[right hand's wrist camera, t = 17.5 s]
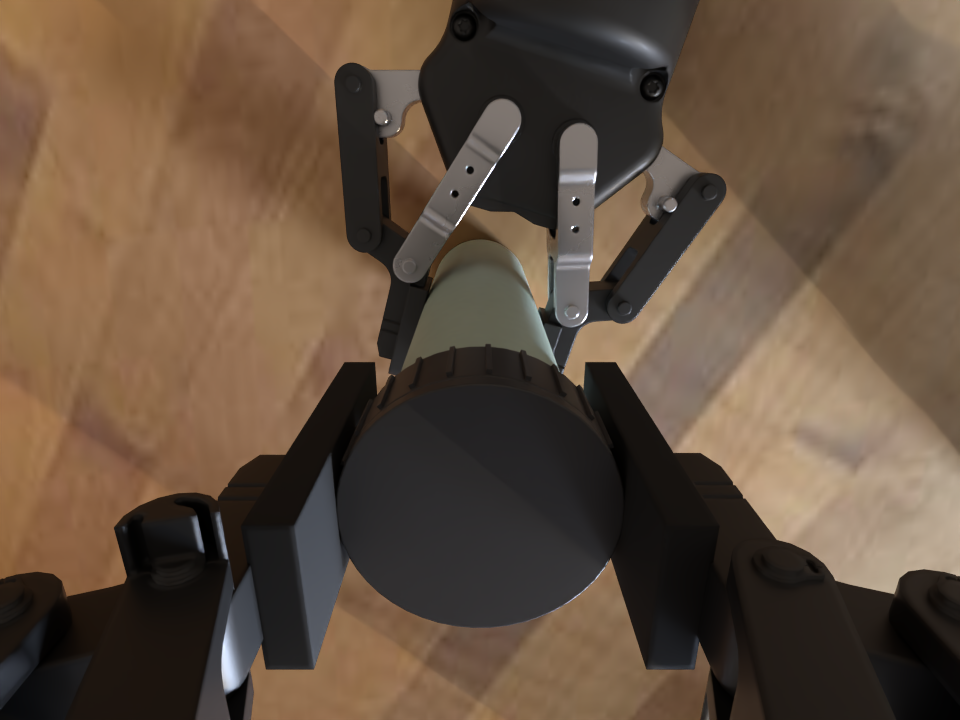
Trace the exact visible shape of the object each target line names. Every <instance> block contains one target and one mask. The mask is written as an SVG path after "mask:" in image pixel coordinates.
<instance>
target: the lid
mask: <svg viewBox="0 0 960 720" xmlns="http://www.w3.org/2000/svg"><path fill="white" fill-rule="evenodd" d="M612 448H614V446H613V443H612V441H611V439H610V437H609V434H608V432H607V430H606V428H605V426H604V423H603V421H602V419H601V417H600V415H599V412H598V411H595V412H594V411H593V409H592V408H591V406H590V404H589V402H588V400H587V398H586V395H585V393H584V391H583V388H582V387H581V386H580V385H578V386H577V387H576V386H575V385H574V384H573V383H572V382H571V381H570V380H569V379H568V378H567V377H566V376H565V375H563V374H562V373H561V372H559V370H558V367H557V366H556V365H555V364H552V366H550V365H549V364H547V363H545V362H543V361H541V360H539V359H537V358H535V357H532V356H529V355H527V353H526V351H525V350H521V351H520V352H517V351H513V350H509V349H505V348H497V347H491V344H485V347H464V348H455V346H451V347H450V348H449V350H447V351H443V352H439V353H436V354H433V355H431V356H429V357H426V358H424V359H422V357H418V358H417V359H416V361H415V363H414V364H412V365H410V366H409V367H407V368H405V369H404V370H403V371H401V372H400V373H399V374H397V375H396V376H395V377H394V376H393V375H391V376H390V377H388V380H387V382H386V385H385V386H384V387H383V388H382V389H381V391H380V392H379V393H378V395H377V396H376V397H375V399H374V400H372V399H369V401H368V403H367V405H366V407H365V409H364V412H363V414H362V416H361V418H360V421H359V423H358V425H357V427H356V429H355V431H354V433H353V436H352V438H351V440H350V442H349V445H348V447H347V449H346V451H345V454H344V456H343V458H342V460H341V464H340V465H342V466H343V468H342V471H341V474H340V477H339V482H338V487H337V492H336V511H337V520H338V528H339V532H340V536H341V540H342V542H343V545H344V547H345V549H346V551H347V554H348V556H349V557H350V559H351V561H352V562H353V564H354V566H355V567H356V569H357V570H358V571H359V573H360V574H361V575H362V576H363V577H364V579H365V580H366V581H367V582H368V583H369V584H370V585H371V586H372V587H373V588H374V589H375V590H376V591H377V592H379V593H380V594H381V595H383V596H384V597H385V598H387V599H388V600H389V601H391V602H392V603H394V604H396V605H397V606H399V607H401V608H403V609H404V610H406V611H408V612H410V613H413V614H415V615H417V616H420V617H422V618H425V619H428V620H432V621H435V622H438V623H443V624H448V625H453V626H460V627H470V628H491V627H500V626H508V625H513V624H518V623H522V622H526V621H529V620H532V619H535V618H538V617H541V616H543V615H546V614H548V613H550V612H552V611H555V610H556V609H558V608H560V607H562V606H563V605H565V604H567V603H568V602H570V601H571V600H573V599H574V598H575V597H577V596H578V595H579V594H581V593H582V592H583V591H584V590H585V589H586V588H587V587H588V586H589V585H590V584H592V583H593V582H594V581H595V579H596V578H597V577H598V576H599V574H600V573H601V572H602V571H603V569H604V568H605V567H606V565H607V563H608V562H609V560H610V558H611V557H612V555H613V553H614V551H615V548H616V546H617V544H618V541H619V539H620V535H621V531H622V524H623V515H624V504H625V497H624V488H623V483H622V479H621V475H620V472H619V469H618V467H617V464H616V462H615V459H614V457H613V454H612V452H611V450H610V449H612Z"/></svg>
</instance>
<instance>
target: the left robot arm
mask: <svg viewBox="0 0 960 720" xmlns="http://www.w3.org/2000/svg"><path fill="white" fill-rule="evenodd" d="M698 3H699V0H453V2H452V6H451V11H450V15H449V19H448V23H447V27H446V30H445V32H444V35H443V37H442V39H441V41H440V42H439V44H438V45H437V47H436V48H435V49H434V51H433V52H432V53H431V54H430V55H429V56H428V57H427V59H426V60H425V61H424V63H423V65H422V67H421V70H369V69H367V68H366V67H364V66H361V65H360V64H357V63H347V64H344V65H343V66H341V67H340V68H339V70H338V71H337V73H336V75H335V80H334V84H335V96H336V109H337V121H338V133H339V146H340V158H341V170H342V183H343V195H344V207H345V220H346V232H347V239H348V242H349V244H350V245H351V246H352V247H353V248H354V249H355V250H357V251H359V252H363V253H369V254H370V255H372V256H373V257H374V258H376V259H377V260H379V261H380V262H382V263H383V264H384V265H385V266H386V267H387V269H388V271H389V273H390V276H391V286H390V290H389V295H388V299H387V303H386V307H385V312H384V316H383V320H382V325H381V329H380V333H379V337H378V342H377V345H378V351H379V356H380V357H384V358H388V359H392V360H391V364H390V368H389V374H392V375H397V374H399V373H400V372H401V370H402V367H403V364H404V361H405V359H406V356H407V353H408V350H409V347H410V345H411V342H412V339H413V336H414V333H415V331H416V328H417V325H418V322H419V319H420V317H421V314H422V311H423V308H424V306H425V303H426V300H427V297H428V294H429V291H430V287H431V283H432V279H433V278H431V277H428V275H429V271H430V267H431V264H432V262H433V261H434V259H435V258H436V256H437V255H438V253H439V252H440V250H441V248H442V247H443V245H444V244H445V242H446V241H447V239H448V238H449V236H450V235H451V233H452V232H453V231H454V229H455V228H456V226H457V224H458V223H459V221H460V220H461V218H462V217H463V215H464V214H465V212H466V210H467V209H468V207H469V206H470V205H471V206H474V207H477V208H481V209H484V210H488V211H498V212H515V213H517V214H519V215H520V216H522V217H524V218H525V219H527V220H528V221H530V222H532V223H533V224H536V225H539V226H542V227H546V228H547V251H548V302H547V305H546V308H545V309H544V308H540V307H539V309H538V313H539V316H540V318H541V321H542V324H543V327H544V330H545V332H546V335H547V338H548V341H549V344H550V346H551V349H552V352H553V355H554V357H555V360H556V363H557V366H558V369H559V371H560V372H561V373H562V374H563V371H564V368H565V366H566V363H567V360H568V358H569V355H570V352H571V349H572V346H573V344H574V341H575V338H576V335H577V333H578V332H579V330H580V329H581V328H582V327H583V326H585V325H586V324H588V323H591V322H596V321H609V320H613V321H615V322H617V323H621V324H624V323H629V322H631V321H633V320H634V319H635V318H636V317H637V316H638V314H639V313H640V312H641V310H642V309H643V308H644V306H645V305H646V304H647V302H648V301H649V300H650V298H651V297H652V296H653V294H654V293H655V292H656V290H657V289H658V287H659V286H660V285H661V283H662V282H663V281H664V279H665V278H666V277H667V275H668V274H669V273H670V271H671V270H672V269H673V267H674V266H675V265H676V263H677V262H678V260H679V259H680V258H681V256H682V255H683V254H684V252H685V251H686V250H687V248H688V247H689V246H690V244H691V243H692V242H693V240H694V239H695V238H696V236H697V235H698V233H699V232H700V231H701V229H702V228H703V227H704V225H705V224H706V223H707V221H708V220H709V219H710V217H711V216H712V215H713V213H714V212H715V211H716V209H717V208H718V207H719V205H720V204H721V202H722V201H723V199H724V197H725V195H726V184H725V182H724V180H723V179H722V178H721V177H720V176H719V175H717V174H713V173H703V172H698V171H696V170H695V169H694V168H692V167H691V166H689V165H688V164H687V163H685V162H684V161H682V160H681V159H680V158H678V157H677V156H675V155H674V154H673V153H671V152H670V151H668V150H667V149H665V148H664V147H663V146H662V144H663V127H662V105H663V100H664V96H665V93H666V90H667V88H668V85H669V83H670V80H671V77H672V75H673V72H674V69H675V66H676V64H677V61H678V58H679V55H680V53H681V50H682V47H683V44H684V41H685V39H686V36H687V33H688V30H689V28H690V25H691V22H692V19H693V17H694V14H695V11H696V8H697V6H698ZM420 102H422V105H423V107H424V110H425V113H426V116H427V118H428V121H429V124H430V126H431V129H432V132H433V135H434V137H435V140H436V143H437V146H438V148H439V151H440V154H441V157H442V159H443V162H444V165H445V167H446V170H447V173H446V174H445V176H444V178H443V179H442V181H441V182H440V184H439V186H438V187H437V189H436V191H435V192H434V194H433V195H432V197H431V199H430V200H429V202H428V204H427V205H426V207H425V208H424V210H423V212H422V214H421V216H420V217H419V219H418V221H417V222H416V224H415V225H414V227H413V229H412V230H411V232H410V234H409V233H408V232H407V231H405V230H404V229H402V228H401V227H400V226H398V225H397V224H395V223H394V222H393V221H391V209H390V190H389V172H388V153H387V138H392V137H395V136H397V135H399V134H400V133H401V132H402V130H403V128H404V125H405V118H406V114H407V112H408V110H409V109H410V108H411V107H412V106H413V105H414V104H416V103H420ZM642 172H643V173H644V175H645V178H646V188H645V191H644V193H643V195H642V198H641V208H642V210H643V212H644V213H645V214H646V216H645V218H644V219H643V221H642V222H641V224H640V225H639V226H638V228H637V229H636V231H635V232H634V234H633V235H632V236H631V238H630V239H629V241H628V242H627V243H626V245H625V246H624V248H623V249H622V251H621V252H620V253H619V255H618V256H617V258H616V259H615V261H614V262H613V263H612V265H611V266H610V268H609V269H608V271H607V272H606V273H605V275H604V276H603V278H602V279H601V281H595V282H589V269H590V264H591V262H592V256H593V229H594V209H596V208H597V207H598V206H599V205H601V204H602V203H603V202H605V201H606V200H607V199H609V198H610V197H611V196H612V195H614V194H615V193H616V192H618V191H619V190H620V189H622V188H623V187H624V186H625V185H627V184H628V183H629V182H631V181H632V180H633V179H635V178H636V177H637V176H639V175H640V174H641V173H642Z"/></svg>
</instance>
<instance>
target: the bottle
mask: <svg viewBox="0 0 960 720" xmlns="http://www.w3.org/2000/svg"><path fill="white" fill-rule="evenodd" d="M485 344H491V347H497V348H505V349H509V350H513V351H517V352H520V351H521V350H525V351H526V353H527V355H529V356H532V357H535V358H537V359H539V360H541V361H543V362H545V363H547V364H549V365H550V366H552V364H555V365H556V366H557V363H556V360H555V357H554V355H553V352H552V349H551V346H550V344H549V341H548V338H547V335H546V332H545V330H544V327H543V324H542V321H541V318H540V316H539V313H538V310H537V307H536V304H535V302H534V299H533V296H532V293H531V291H530V288H529V285H528V282H527V279H526V277H525V274H524V271H523V268H522V266H521V264H520V262H519V260H518V259H517V258H516V256H515V255H514V254H513V253H512V252H511V251H510V250H509V249H507V248H506V247H505V246H503V245H501V244H499V243H496V242H494V241H490V240H470V241H467V242H464V243H461V244H459V245H457V246H456V247H454V248H453V249H452V250H450V251H449V252H448V253H447V254H446V255H445V257H444V258H443V259H442V261H441V263H440V264H439V266H438V269H437V272H436V275H435V277H434V280H433V283H432V286H431V289H430V291H429V294H428V297H427V300H426V303H425V306H424V308H423V311H422V314H421V317H420V319H419V322H418V325H417V328H416V331H415V333H414V336H413V339H412V342H411V345H410V347H409V350H408V353H407V356H406V359H405V361H404V364H403V367H402V370H401V371H403V370H404V369H405V368H407V367H409V366H410V365H412V364H414V363H415V361H416V359H417V358H418V357H422V359H424V358H426V357H429V356H431V355H433V354H436V353H439V352H443V351H447V350H449V348H450V347H451V346H455V348H464V347H485ZM557 367H558V366H557ZM558 370H559V369H558ZM559 372H560V371H559Z"/></svg>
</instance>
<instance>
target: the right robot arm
mask: <svg viewBox="0 0 960 720" xmlns="http://www.w3.org/2000/svg"><path fill="white" fill-rule="evenodd" d="M584 393H585V395H586V398H587V400H588V402H589V404H590V406H591V408H592V409H593V411H594V412H595V411H598V412H599V415H600V417H601V419H602V421H603V423H604V426H605V428H606V430H607V432H608V434H609V437H610V439H611V441H612V443H613V446H614V448H612V449H610V450H611V452H612V454H613V457H614V459H615V462H616V464H617V467H618V469H619V472H620V475H621V479H622V483H623V488H624V497H625V504H624V515H623V524H622V531H621V535H620V539H619V541H618V544H617V546H616V548H615V551H614V553H613V555H612V557H611V560H612V563H613V566H614V569H615V572H616V576H617V579H618V582H619V585H620V588H621V591H622V594H623V597H624V601H625V604H626V607H627V610H628V613H629V616H630V619H631V623H632V626H633V629H634V632H635V635H636V638H637V641H638V644H639V648H640V651H641V654H642V657H643V660H644V663H645V666H646V669H695V663H696V657H697V652H698V646H699V642H700V644H701V646H702V648H703V651H704V653H705V655H706V657H707V660H708V662H709V664H710V672H709V677H708V682H707V687H706V693H705V698H704V703H703V708H702V714H701V720H960V576H956V575H953V574H949V573H946V572H940V571H932V570H925V569H923V570H916V571H909V572H907V573H906V574H905V575H903V576H902V577H901V578H900V579H899V582H898V585H897V588H896V591H895V594H890V593H886V592H881V591H876V590H872V589H867V588H862V587H858V586H853V585H849V584H845V583H841V582H838V581H835V580H834V577H833V575H832V574H831V573H830V571H829V570H828V569H827V567H826V566H825V564H824V563H822V562H821V561H820V560H819V559H817V558H816V557H815V556H813V555H812V554H811V553H809V552H807V551H805V550H803V549H801V548H799V547H797V546H795V545H793V544H790V543H786V542H783V541H779V540H776V538H775V537H774V536H773V534H772V533H771V532H770V530H769V529H768V528H767V527H766V525H765V524H764V523H763V521H762V520H761V519H760V517H759V516H758V515H757V513H756V512H755V511H754V509H753V508H752V507H751V505H750V504H749V503H748V502H747V500H746V499H743V495H742V494H741V492H740V491H739V490H738V488H737V487H736V486H735V485H733V482H732V480H731V479H730V478H729V476H728V475H727V474H726V473H725V471H724V470H723V469H722V467H721V466H719V465H718V464H716V463H715V462H713V461H712V460H710V459H709V458H707V457H706V456H704V455H703V454H701V453H673V451H672V450H671V448H670V447H669V445H668V444H667V442H666V440H665V439H664V437H663V436H662V434H661V433H660V431H659V429H658V428H657V426H656V425H655V423H654V422H653V420H652V418H651V417H650V415H649V414H648V412H647V411H646V409H645V407H644V406H643V404H642V403H641V401H640V400H639V398H638V396H637V395H636V393H635V392H634V390H633V389H632V387H631V385H630V384H629V382H628V381H627V379H626V378H625V376H624V374H623V373H622V371H621V370H620V368H619V367H618V365H617V363H616V362H585V376H584ZM376 396H377V386H376V371H375V362H344V364H343V366H342V367H341V369H340V370H339V372H338V373H337V375H336V377H335V378H334V380H333V381H332V383H331V384H330V386H329V388H328V389H327V391H326V392H325V394H324V395H323V397H322V399H321V400H320V402H319V403H318V405H317V406H316V408H315V410H314V411H313V413H312V414H311V416H310V417H309V419H308V421H307V422H306V424H305V425H304V427H303V428H302V430H301V432H300V433H299V435H298V436H297V438H296V439H295V441H294V443H293V444H292V446H291V447H290V449H289V450H288V452H287V454H286V455H259V456H258V457H256V458H255V459H253V460H252V461H250V462H249V463H247V464H246V465H244V466H243V467H241V468H240V469H239V470H238V471H237V473H236V474H235V475H234V477H233V478H232V479H231V481H230V482H229V483H228V487H225V489H224V490H223V491H222V493H221V494H220V495H219V497H218V501H216V500H215V499H213V498H212V497H211V496H209V495H204V494H200V493H178V494H173V495H169V496H165V497H160V498H157V499H155V500H152V501H150V502H147V503H145V504H142V505H140V506H138V507H137V508H135V509H134V510H132V511H131V512H129V513H128V514H126V515H125V516H123V518H122V519H121V520H120V521H119V522H118V523H117V525H116V526H115V527H114V530H115V534H116V537H117V541H118V545H119V548H120V552H121V556H122V559H123V563H124V567H125V570H126V574H127V578H126V581H125V583H124V584H121V585H117V586H113V587H109V588H105V589H100V590H95V591H91V592H86V593H82V594H77V595H72V596H68V597H67V596H66V593H65V590H64V587H63V584H62V581H61V580H60V579H59V578H57V577H56V576H55V575H54V574H50V573H42V572H32V573H25V574H18V575H14V576H10V577H6V578H5V579H0V720H251V713H252V704H253V695H254V690H253V683H252V677H251V672H250V668H251V666H252V663H253V661H254V659H255V657H256V654H257V652H258V650H259V648H260V645H261V644H262V650H263V655H264V661H265V667H266V669H314V667H315V664H316V661H317V658H318V655H319V652H320V649H321V645H322V642H323V639H324V636H325V633H326V630H327V627H328V624H329V620H330V617H331V614H332V611H333V608H334V605H335V602H336V599H337V595H338V592H339V589H340V586H341V583H342V580H343V577H344V573H345V570H346V567H347V564H348V561H349V558H350V557H349V556H348V554H347V551H346V549H345V547H344V545H343V542H342V540H341V536H340V532H339V528H338V520H337V511H336V492H337V487H338V482H339V477H340V474H341V471H342V468H343V466H342V465H340V464H341V460H342V458H343V456H344V454H345V451H346V449H347V447H348V445H349V442H350V440H351V438H352V436H353V433H354V431H355V429H356V427H357V425H358V423H359V421H360V418H361V416H362V414H363V412H364V409H365V407H366V405H367V403H368V401H369V399H372V400H374V399H375V397H376Z"/></svg>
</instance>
